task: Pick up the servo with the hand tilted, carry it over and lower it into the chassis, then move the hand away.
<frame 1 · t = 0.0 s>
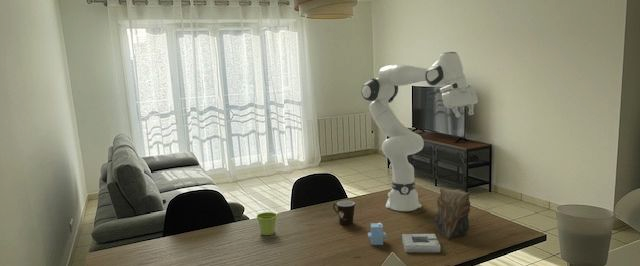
hand: (465, 115, 197), 52 cm above the table, tool tilted 20°, fingers open, 8 cm apart
plant pot: (267, 233, 207), on the table
servo: (376, 242, 191), on the table
brown tall rough block: (450, 235, 197), on the table
coffee mug: (345, 222, 217), on the table
chassis: (420, 246, 186), on the table
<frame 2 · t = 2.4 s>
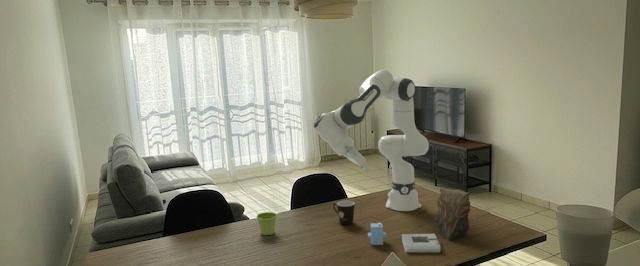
hand: (365, 168, 190), 32 cm above the table, tool tilted 40°, fingers open, 8 cm apart
nothing on the table moved.
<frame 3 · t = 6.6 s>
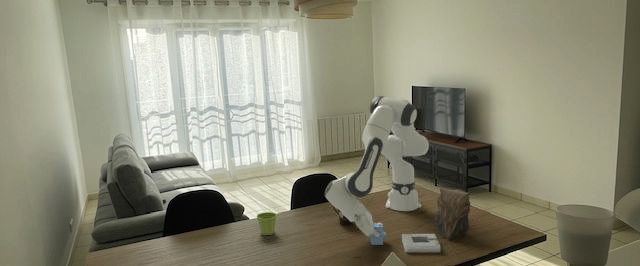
hand: (378, 233, 191), 4 cm above the table, tool tilted 45°, fingers closed on servo, 4 cm apart
servo: (376, 242, 191), on the table, touching gripper
everything else where it was.
when the fingers open (6 cm above the table, at t = 10.8 s): servo drops 1 cm, resting on chassis.
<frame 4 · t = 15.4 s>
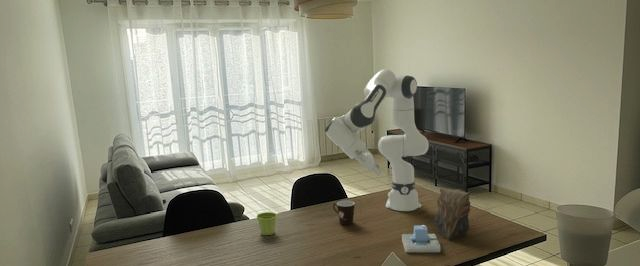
hand: (379, 171, 188), 31 cm above the table, tool tilted 45°, fingers open, 8 cm apart
servo: (420, 245, 186), resting on chassis
everything else where it was.
at the end: servo 0.1 cm off-centre on the chassis, point 0.3 cm above the chassis's base; servo tilted 0°; the gripper is holding nothing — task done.
